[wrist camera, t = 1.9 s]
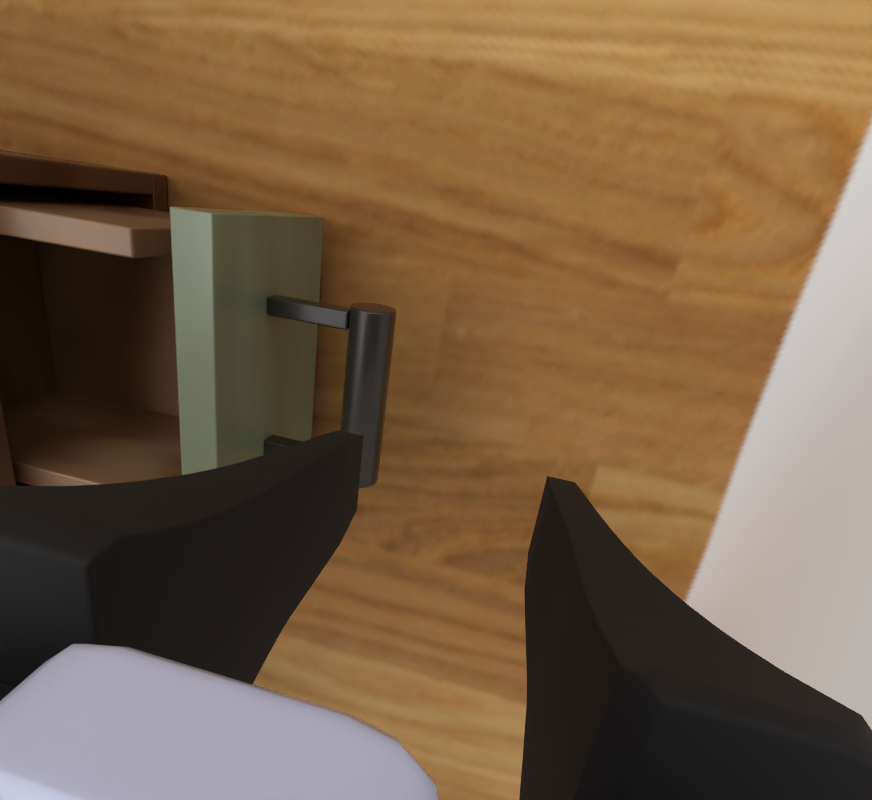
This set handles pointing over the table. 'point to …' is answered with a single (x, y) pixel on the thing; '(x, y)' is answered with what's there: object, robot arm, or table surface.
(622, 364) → the table surface
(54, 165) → the cabinet
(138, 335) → the drawer
